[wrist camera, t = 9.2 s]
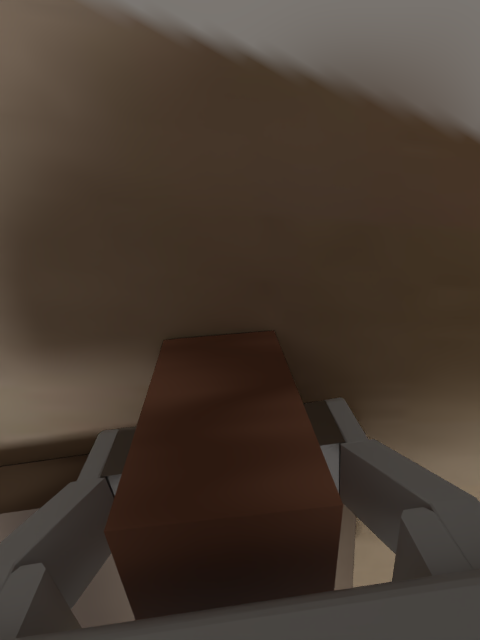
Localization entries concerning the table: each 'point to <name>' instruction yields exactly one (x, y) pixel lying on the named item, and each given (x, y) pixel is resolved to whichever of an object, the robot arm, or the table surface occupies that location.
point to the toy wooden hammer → (223, 484)
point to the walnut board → (106, 587)
